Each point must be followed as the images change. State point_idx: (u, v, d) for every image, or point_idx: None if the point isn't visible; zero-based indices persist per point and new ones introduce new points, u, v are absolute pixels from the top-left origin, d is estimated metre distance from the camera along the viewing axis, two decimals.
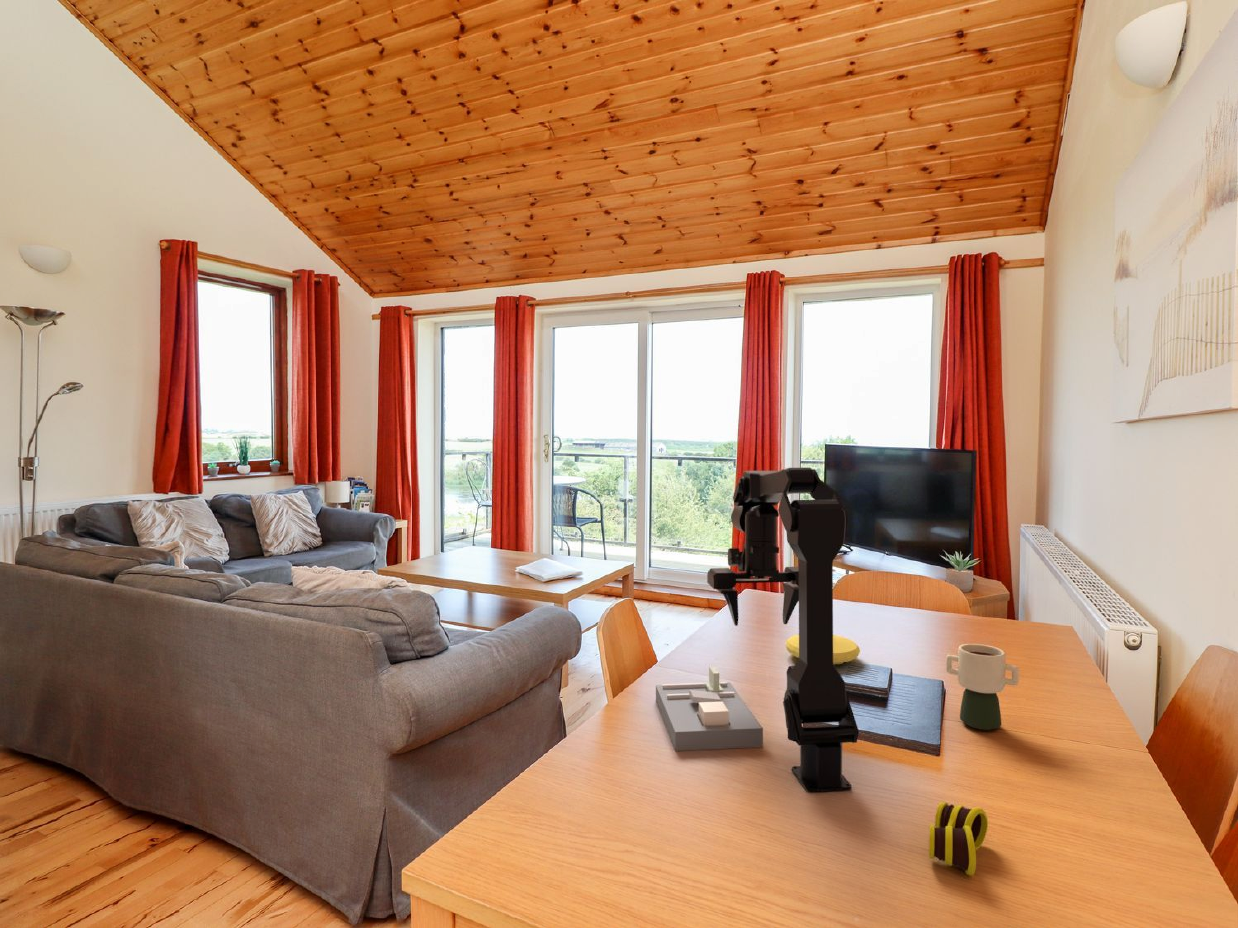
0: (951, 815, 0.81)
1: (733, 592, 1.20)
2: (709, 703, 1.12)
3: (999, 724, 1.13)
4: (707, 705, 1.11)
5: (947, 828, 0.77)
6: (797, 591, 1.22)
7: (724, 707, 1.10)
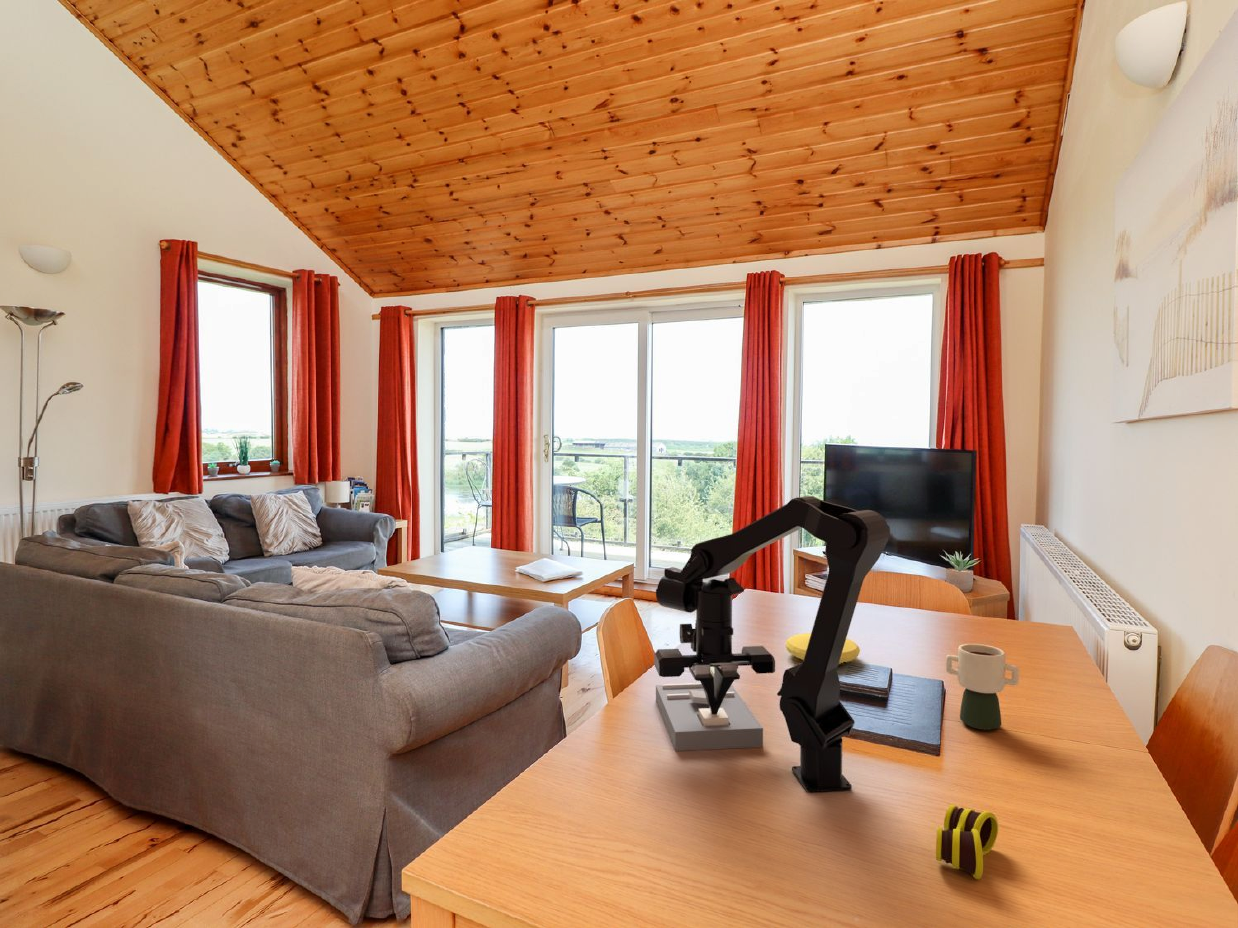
0: (960, 818, 0.81)
1: (708, 678, 1.07)
2: (709, 709, 1.12)
3: (999, 724, 1.13)
4: (707, 711, 1.11)
5: (955, 831, 0.77)
6: (727, 678, 1.07)
7: (724, 713, 1.10)
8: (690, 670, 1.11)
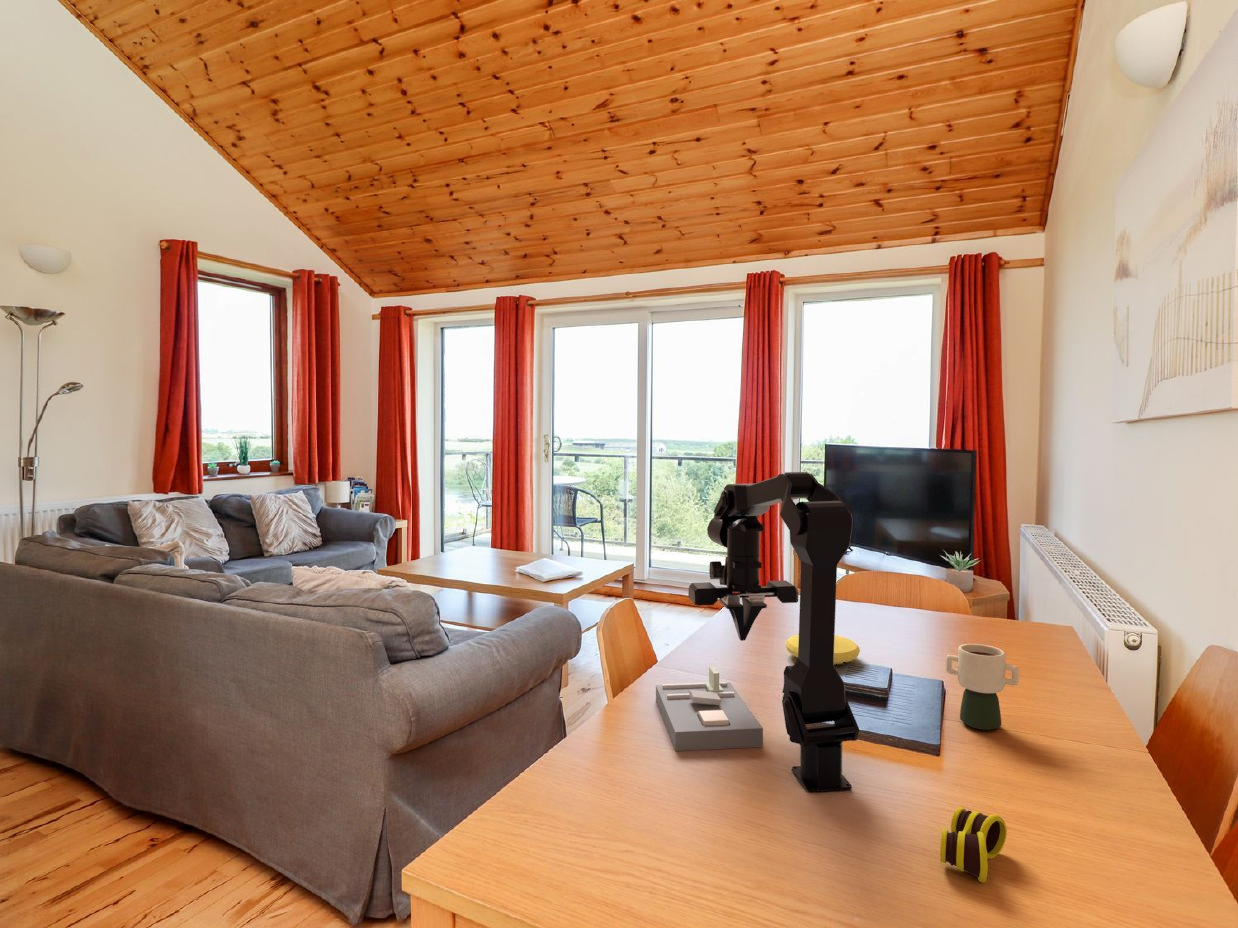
0: (967, 820, 0.80)
1: (739, 607, 1.18)
2: (709, 712, 1.12)
3: (999, 724, 1.13)
4: (707, 714, 1.11)
5: (960, 833, 0.76)
6: (755, 607, 1.19)
7: (724, 716, 1.10)
8: (721, 601, 1.22)
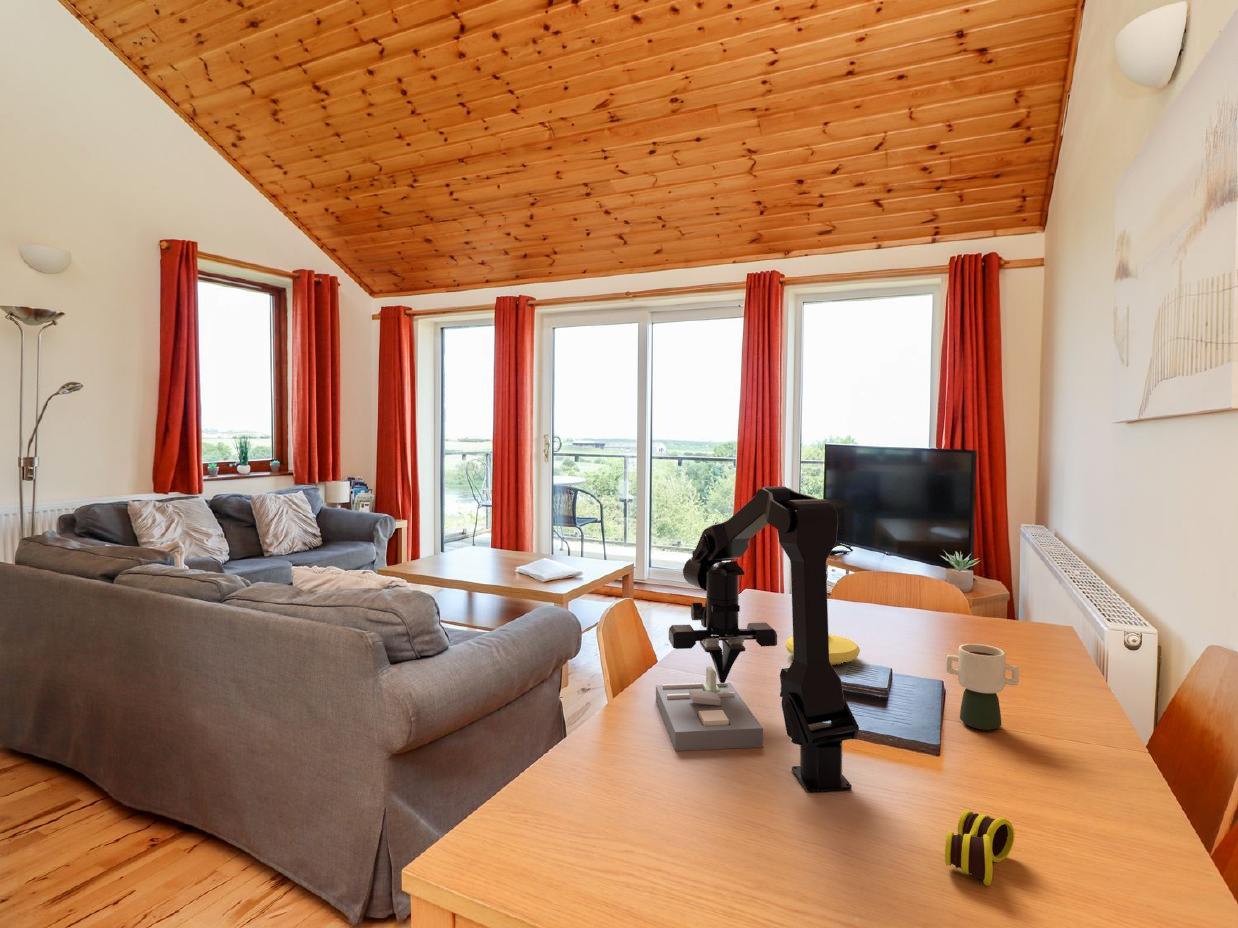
0: (974, 823, 0.80)
1: (717, 650, 1.19)
2: (709, 712, 1.12)
3: (999, 724, 1.13)
4: (707, 714, 1.11)
5: (965, 836, 0.76)
6: (734, 651, 1.20)
7: (724, 716, 1.10)
8: (701, 644, 1.23)
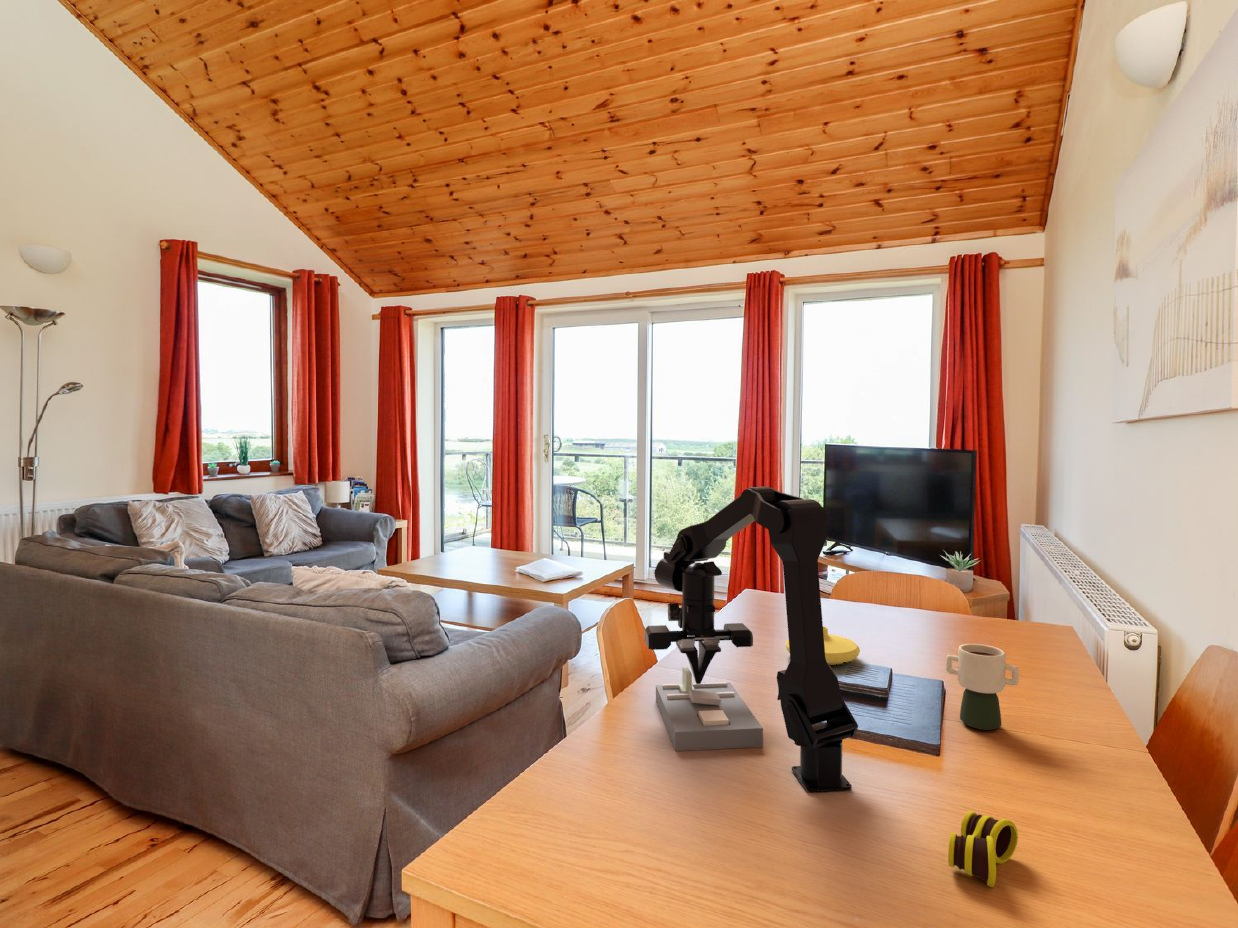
0: (977, 824, 0.79)
1: (693, 651, 1.19)
2: (709, 712, 1.12)
3: (999, 724, 1.13)
4: (707, 714, 1.11)
5: (968, 837, 0.76)
6: (709, 651, 1.19)
7: (724, 716, 1.10)
8: (677, 644, 1.23)
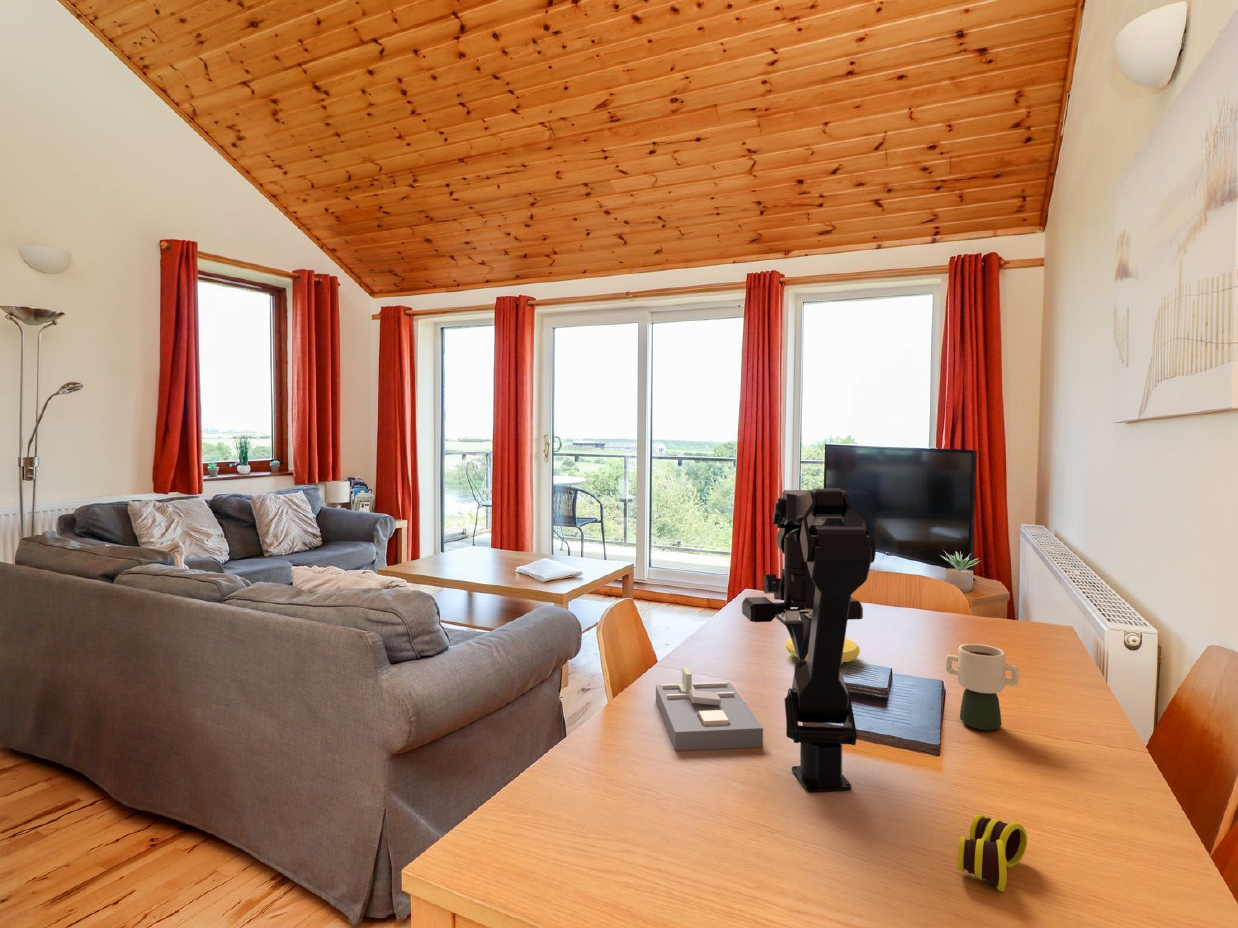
0: (986, 828, 0.79)
1: (799, 624, 1.09)
2: (709, 712, 1.12)
3: (999, 724, 1.13)
4: (707, 714, 1.11)
5: (978, 841, 0.75)
6: None
7: (724, 716, 1.10)
8: (778, 618, 1.13)
